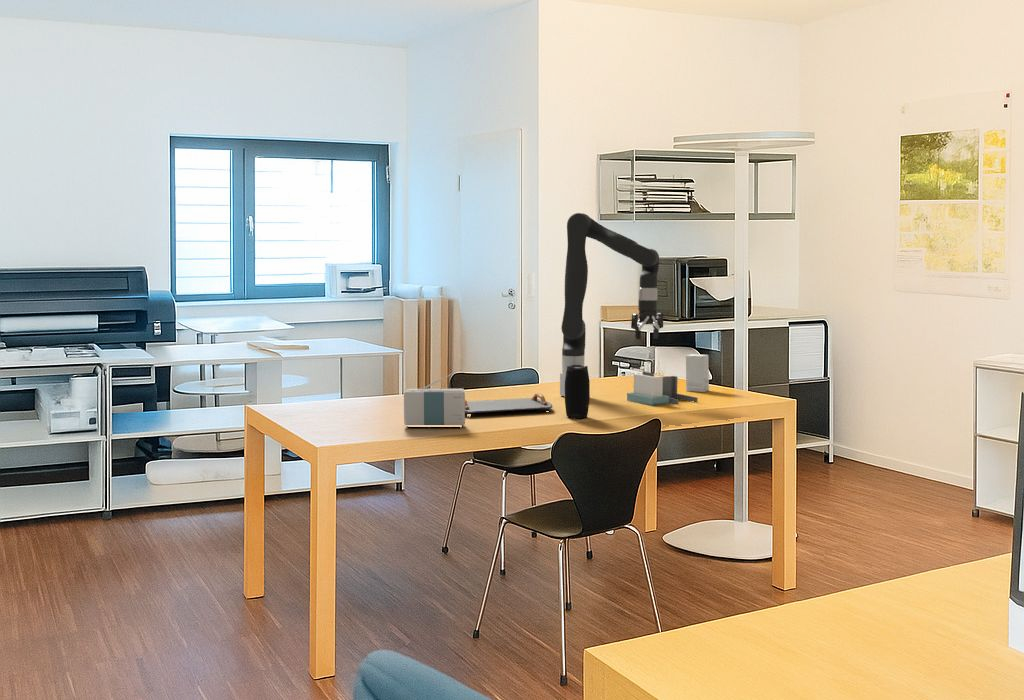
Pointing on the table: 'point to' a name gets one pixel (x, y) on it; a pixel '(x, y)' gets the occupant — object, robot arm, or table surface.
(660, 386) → the light grey block
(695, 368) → the skincare box
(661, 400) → the tray
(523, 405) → the serving board
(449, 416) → the stereo radio cassette player
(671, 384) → the bay
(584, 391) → the portable speaker
